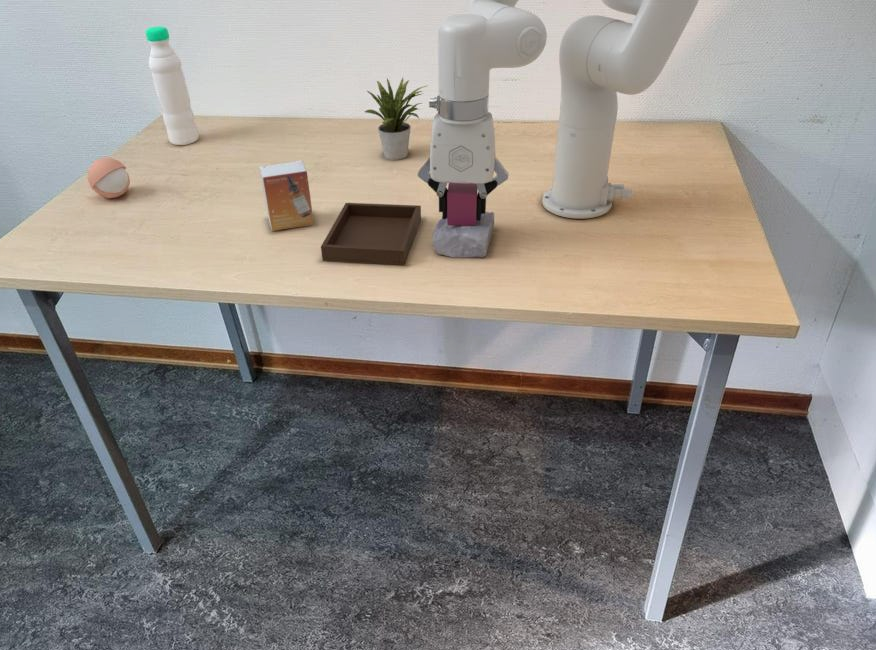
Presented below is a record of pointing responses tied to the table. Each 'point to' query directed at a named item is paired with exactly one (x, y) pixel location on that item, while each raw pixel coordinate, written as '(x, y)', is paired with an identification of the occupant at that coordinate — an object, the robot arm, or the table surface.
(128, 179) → the toy ball
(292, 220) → the small box
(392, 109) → the house plant
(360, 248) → the tray
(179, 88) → the water bottle
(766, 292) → the table surface
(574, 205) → the robot arm
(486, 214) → the stone block
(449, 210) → the pink block
